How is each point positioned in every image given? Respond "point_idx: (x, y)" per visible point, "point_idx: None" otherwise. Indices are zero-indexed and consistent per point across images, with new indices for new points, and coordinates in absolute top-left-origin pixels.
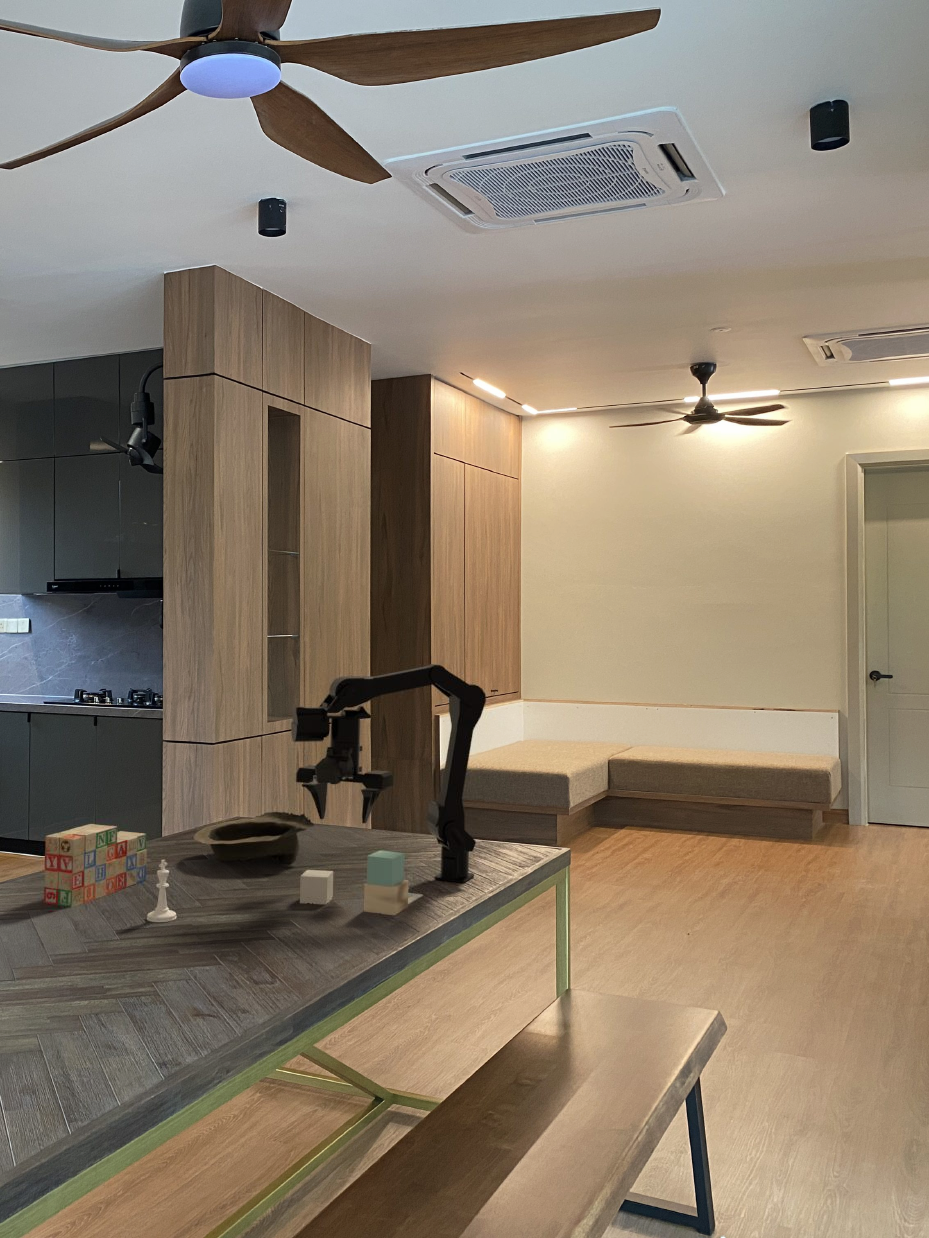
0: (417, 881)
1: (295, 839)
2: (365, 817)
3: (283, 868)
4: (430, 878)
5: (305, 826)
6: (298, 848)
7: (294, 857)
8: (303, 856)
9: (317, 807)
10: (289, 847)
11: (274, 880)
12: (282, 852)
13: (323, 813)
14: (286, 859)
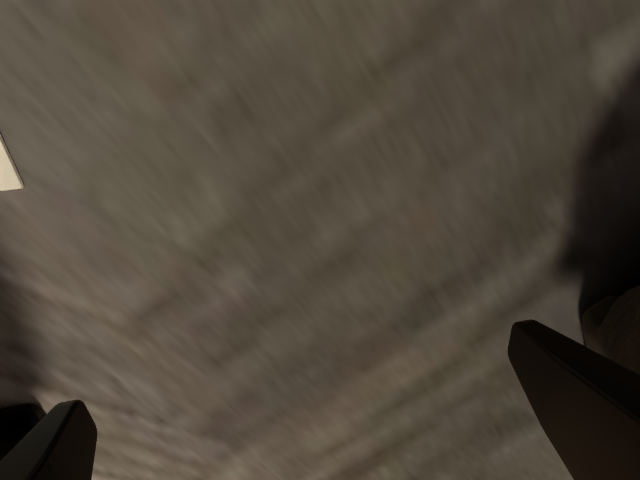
0: (67, 359)
1: None
2: (7, 455)
3: (586, 242)
4: None
5: None
6: None
7: (586, 326)
8: None
9: (637, 383)
10: (627, 324)
11: (561, 71)
12: (636, 287)
13: (535, 379)
14: (606, 303)
